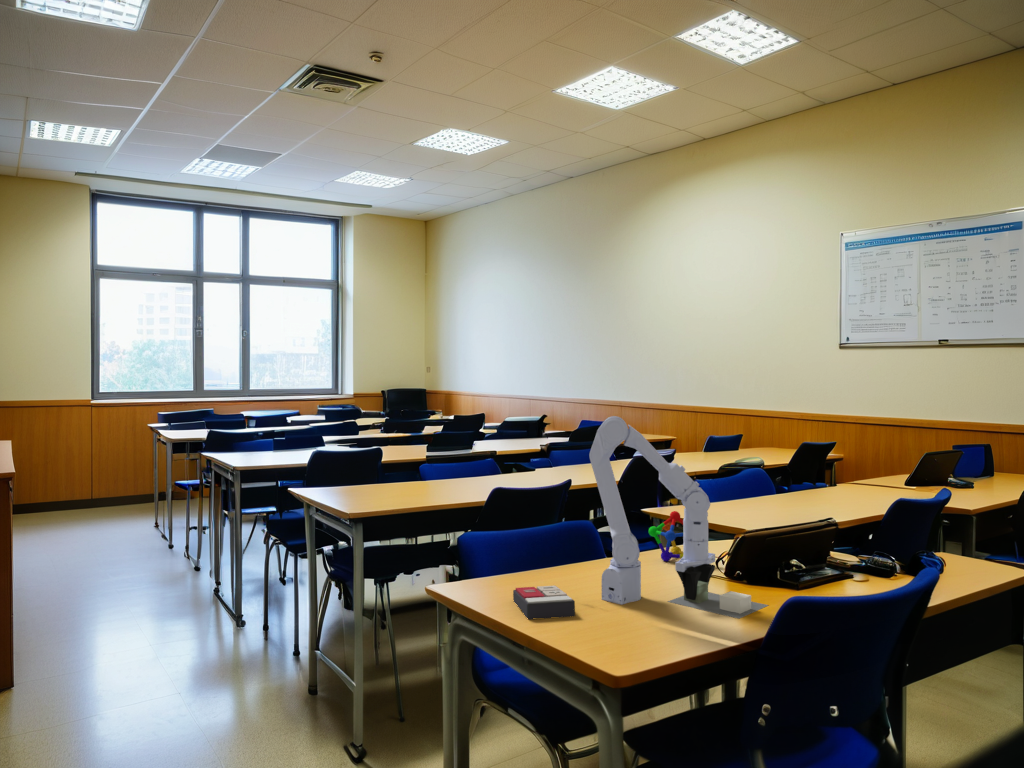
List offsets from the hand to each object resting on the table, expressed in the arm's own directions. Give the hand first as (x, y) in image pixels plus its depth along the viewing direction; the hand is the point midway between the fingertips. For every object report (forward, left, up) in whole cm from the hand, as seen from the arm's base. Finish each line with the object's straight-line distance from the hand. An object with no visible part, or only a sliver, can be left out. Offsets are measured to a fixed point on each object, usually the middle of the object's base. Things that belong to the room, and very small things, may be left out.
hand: (696, 597), depth 167 cm
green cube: (0, 0, -1) cm, 1 cm away
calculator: (-28, +23, -2) cm, 36 cm away
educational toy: (+35, +28, -2) cm, 45 cm away
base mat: (+1, -5, -2) cm, 5 cm away
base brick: (0, -10, -1) cm, 10 cm away
